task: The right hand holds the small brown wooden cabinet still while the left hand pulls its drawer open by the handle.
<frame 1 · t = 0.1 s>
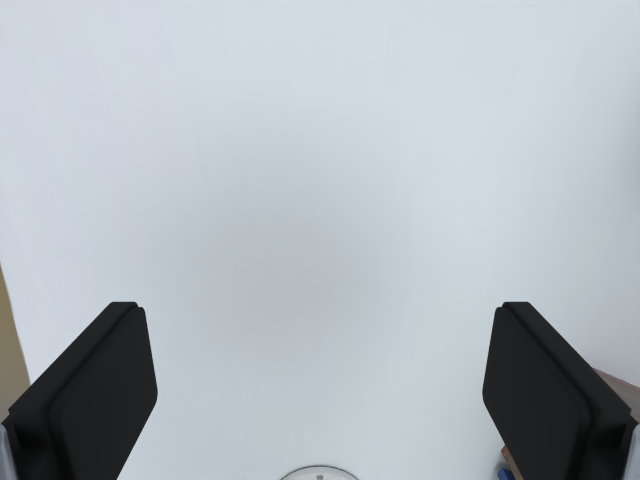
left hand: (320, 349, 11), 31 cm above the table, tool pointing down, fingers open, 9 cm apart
cabinet: (571, 421, 52), on the table
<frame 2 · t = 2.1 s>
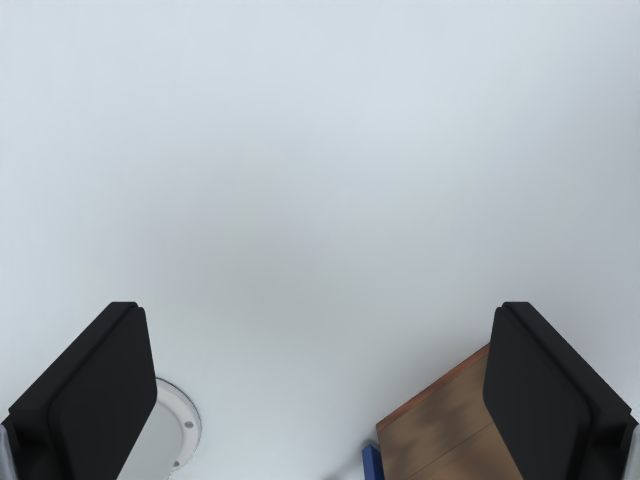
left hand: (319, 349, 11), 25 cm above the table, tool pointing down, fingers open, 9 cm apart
cabinet: (465, 414, 43), on the table
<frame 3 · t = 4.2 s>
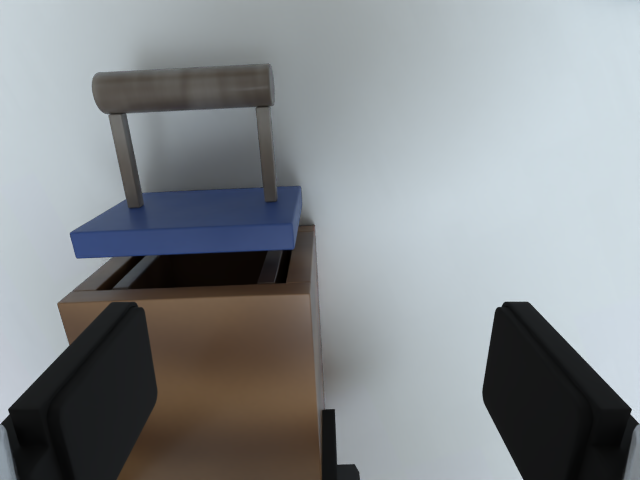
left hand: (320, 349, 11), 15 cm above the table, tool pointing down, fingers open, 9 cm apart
drawer: (212, 274, 22), point 4 cm above the table, slide at 1.5 cm
cabinet: (241, 334, 28), on the table, touching right hand
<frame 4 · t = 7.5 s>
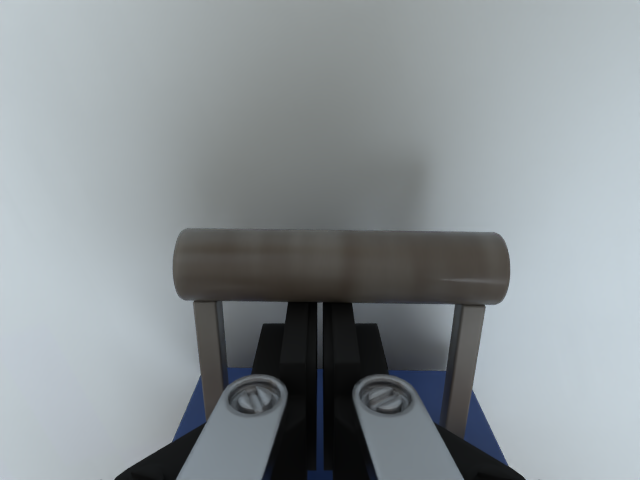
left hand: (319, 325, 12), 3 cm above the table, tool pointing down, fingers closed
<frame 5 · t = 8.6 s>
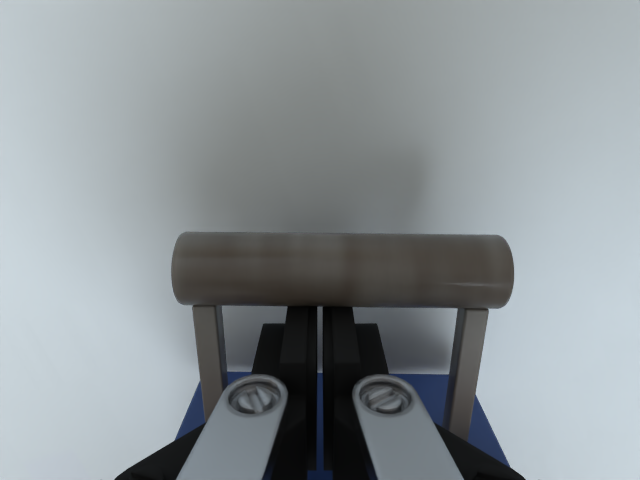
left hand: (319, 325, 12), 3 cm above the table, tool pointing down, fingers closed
when the right hand's fingers open (4 cm above the table, at t = 10.4 s): cabinet stays where it is, on the table.
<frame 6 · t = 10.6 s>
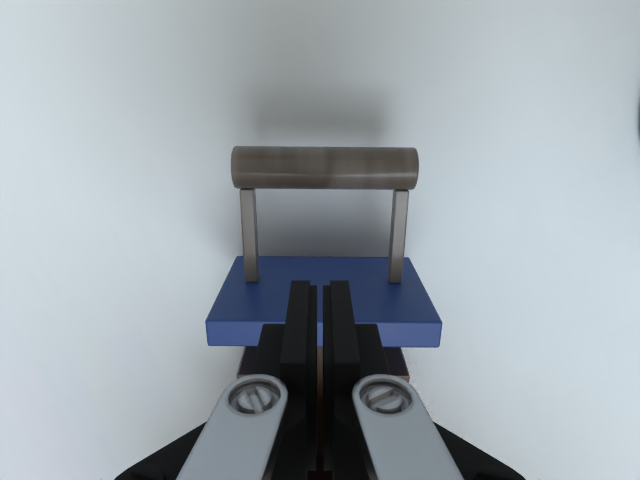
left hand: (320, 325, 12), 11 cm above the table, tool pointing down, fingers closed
drawer: (322, 350, 21), point 4 cm above the table, slide at 7.5 cm
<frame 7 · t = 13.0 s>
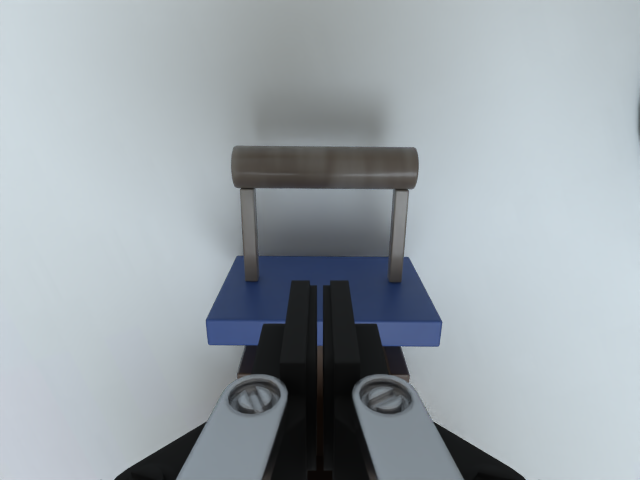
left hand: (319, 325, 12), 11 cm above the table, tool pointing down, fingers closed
drawer: (322, 349, 21), point 4 cm above the table, slide at 7.5 cm
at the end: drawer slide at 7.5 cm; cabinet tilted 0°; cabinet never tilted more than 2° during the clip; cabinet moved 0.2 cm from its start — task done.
